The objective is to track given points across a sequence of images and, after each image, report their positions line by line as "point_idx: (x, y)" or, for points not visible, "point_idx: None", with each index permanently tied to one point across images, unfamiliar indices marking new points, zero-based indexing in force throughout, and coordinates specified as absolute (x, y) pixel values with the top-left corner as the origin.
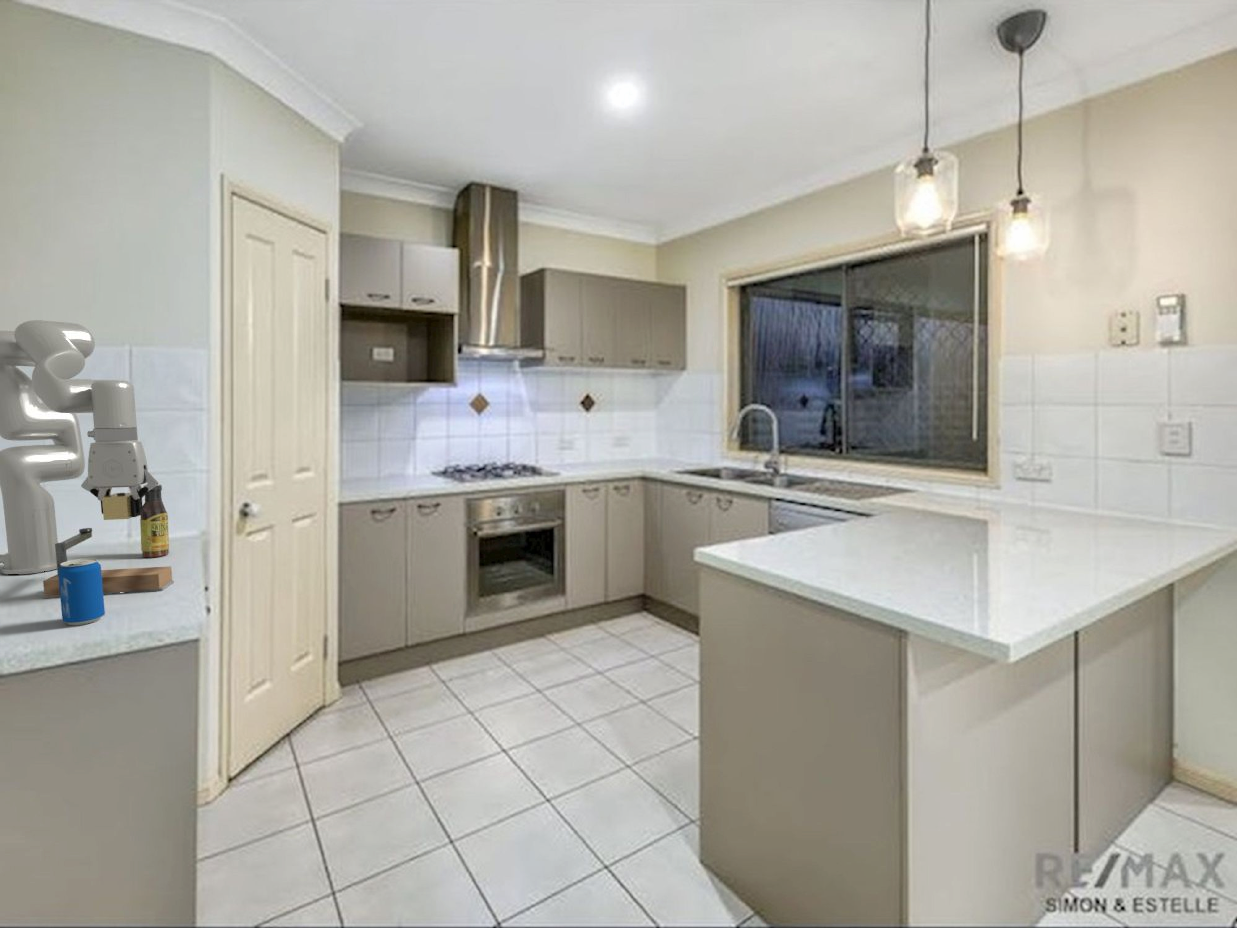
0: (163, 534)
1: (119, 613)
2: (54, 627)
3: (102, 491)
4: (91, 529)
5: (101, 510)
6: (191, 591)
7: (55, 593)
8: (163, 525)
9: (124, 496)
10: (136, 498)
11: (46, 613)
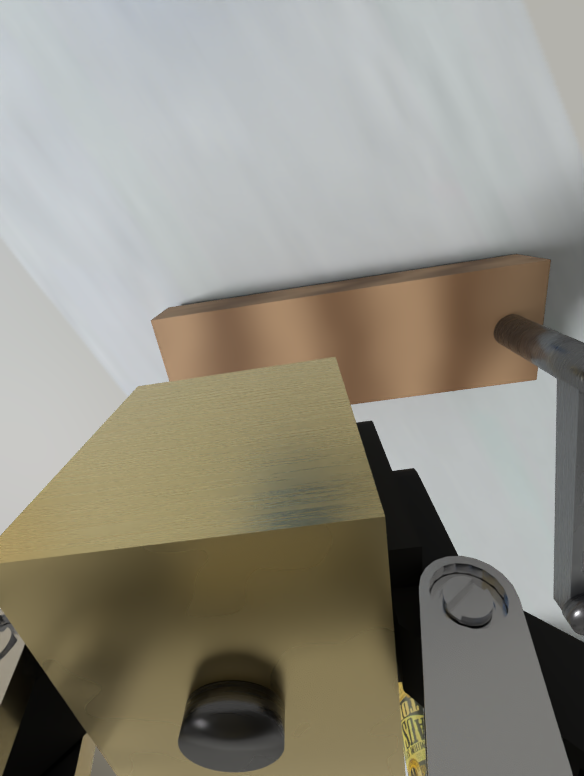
0: (400, 706)
1: (117, 4)
2: None
3: (485, 735)
4: (569, 619)
5: (422, 483)
6: (59, 293)
7: (485, 260)
8: (407, 743)
9: (32, 588)
10: (6, 626)
11: (408, 41)
